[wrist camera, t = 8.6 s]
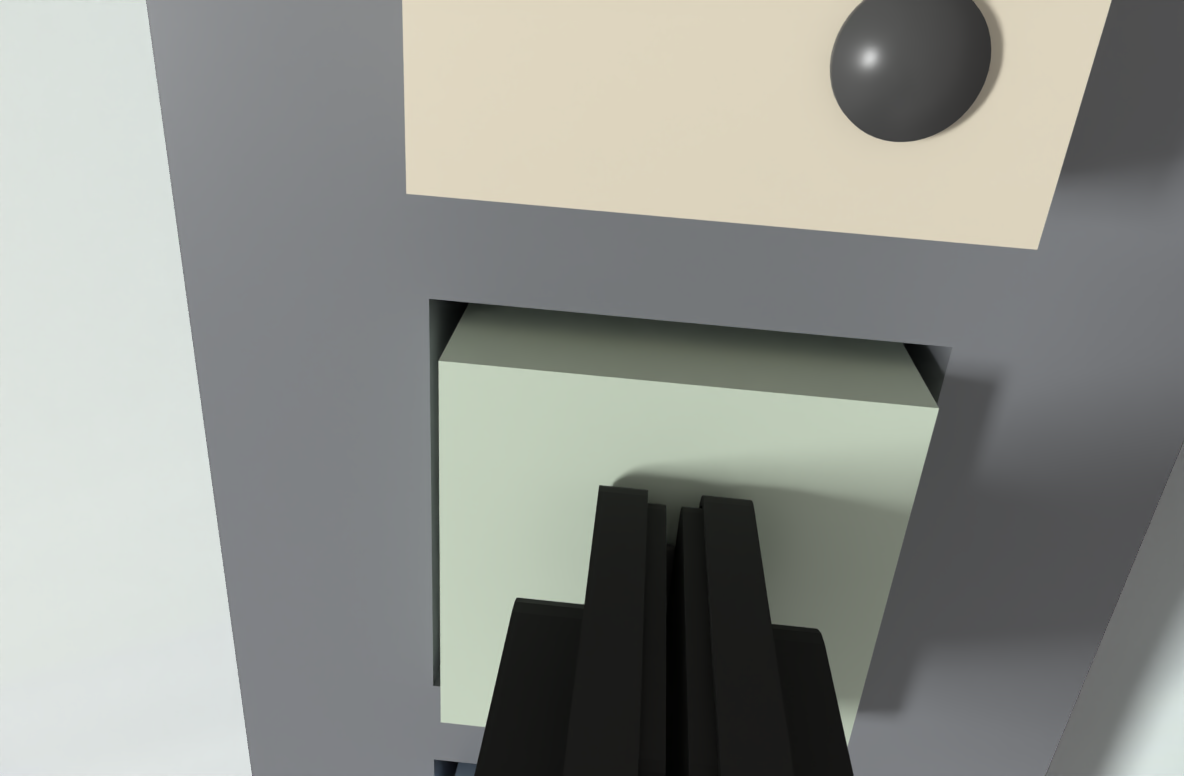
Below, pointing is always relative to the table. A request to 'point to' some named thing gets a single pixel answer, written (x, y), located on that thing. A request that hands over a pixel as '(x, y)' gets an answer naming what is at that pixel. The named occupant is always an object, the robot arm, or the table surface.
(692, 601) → the robot arm
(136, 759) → the table surface
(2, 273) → the table surface
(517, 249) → the keypad board
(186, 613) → the table surface
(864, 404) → the key one
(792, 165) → the key two
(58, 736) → the table surface
